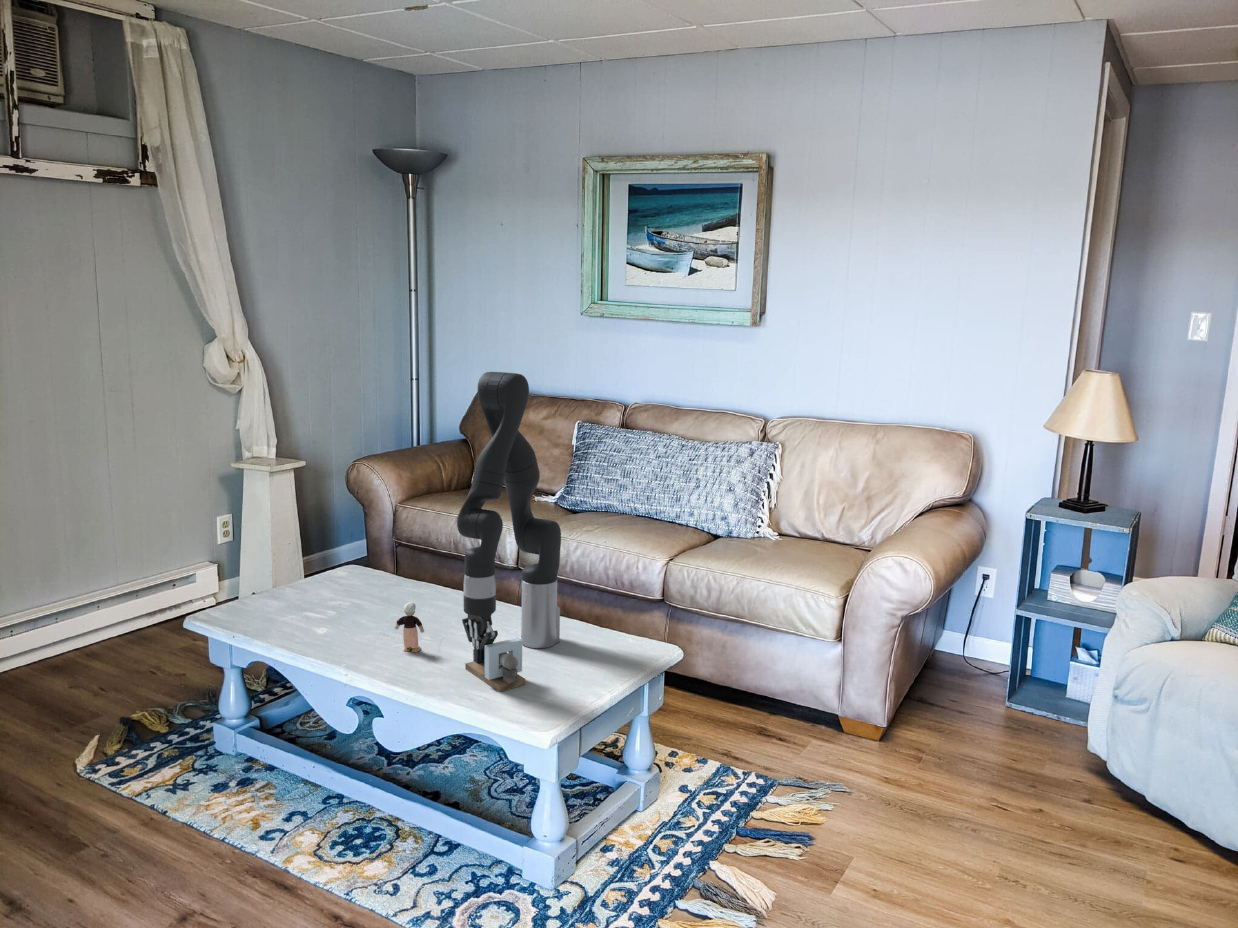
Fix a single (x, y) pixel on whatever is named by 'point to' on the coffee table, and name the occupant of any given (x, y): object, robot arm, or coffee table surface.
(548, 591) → the robot arm
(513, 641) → the square plate with hole
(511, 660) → the pipe stand
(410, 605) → the grandmother figurine
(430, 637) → the coffee table surface
